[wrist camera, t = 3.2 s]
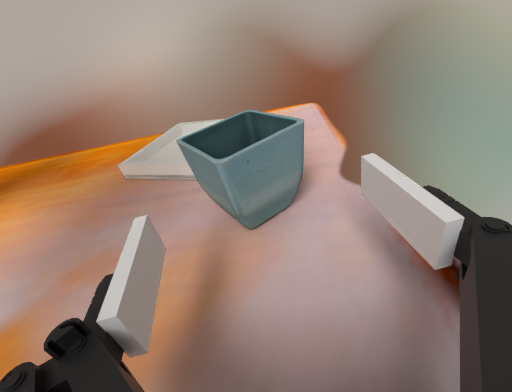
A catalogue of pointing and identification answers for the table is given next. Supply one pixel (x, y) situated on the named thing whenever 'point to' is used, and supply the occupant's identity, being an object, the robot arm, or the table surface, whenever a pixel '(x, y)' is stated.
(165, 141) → the tray
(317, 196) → the table surface
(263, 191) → the flower pot
